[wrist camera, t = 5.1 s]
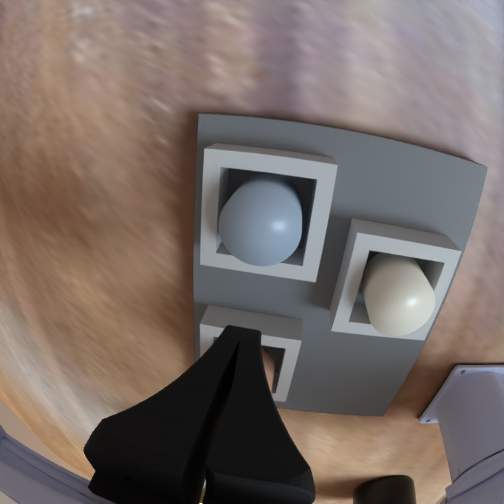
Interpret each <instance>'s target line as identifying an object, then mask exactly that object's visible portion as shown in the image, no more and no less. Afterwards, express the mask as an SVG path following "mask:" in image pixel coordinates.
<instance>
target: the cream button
mask: <svg viewBox="0 0 504 504" xmlns="http://www.w3.org/2000/svg"><path fill="white" fill-rule="evenodd" d="M361 288H362V292H363V296H364V300H365V304H366V308H367V312H368V316H369V320H370V323H371V324H372V326H373V327H374V328H375V329H376V330H377V331H378V332H380V333H382V334H384V335H388V336H402V335H406V334H409V333H412V332H414V331H416V330H417V329H419V328H420V327H421V326H423V325H424V324H425V323H426V322H427V321H428V319H429V318H430V316H431V315H432V313H433V310H434V307H435V294H434V291H433V289H432V287H431V285H430V284H429V282H428V280H427V278H426V277H425V275H424V273H423V272H422V270H421V268H420V267H419V265H418V263H417V262H416V260H415V259H414V258H413V257H408V256H402V255H396V254H390V253H384V252H381V253H379V254H377V255H375V256H374V257H373V258H372V259H370V260H369V261H368V263H367V264H366V265H365V268H364V272H363V275H362V279H361Z"/></svg>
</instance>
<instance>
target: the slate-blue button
mask: <svg viewBox="0 0 504 504" xmlns="http://www.w3.org/2000/svg"><path fill="white" fill-rule="evenodd" d="M219 233H220V237H221V240H222V242H223V244H224V246H225V247H226V248H227V250H228V251H229V252H230V253H231V254H232V255H233V256H234V257H236V258H237V259H239V260H240V261H242V262H244V263H247V264H250V265H254V266H271V265H275V264H278V263H280V262H282V261H284V260H285V259H287V258H288V257H289V256H290V255H291V254H292V253H293V252H294V251H295V250H296V248H297V246H298V244H299V242H300V239H301V233H302V202H301V198H300V195H299V193H298V191H297V190H296V188H295V187H294V186H293V185H292V184H291V183H290V182H289V181H288V180H286V179H285V178H283V177H281V176H278V175H275V174H268V173H264V174H257V175H254V176H252V177H250V178H248V179H246V180H245V181H244V182H243V183H242V184H241V185H240V186H239V187H238V188H237V190H236V191H235V192H234V194H233V195H232V196H231V198H230V199H229V200H228V202H227V203H226V204H225V206H224V208H223V209H222V212H221V214H220V218H219Z"/></svg>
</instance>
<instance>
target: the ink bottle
mask: <svg viewBox="0 0 504 504" xmlns="http://www.w3.org/2000/svg"><path fill="white" fill-rule="evenodd" d="M353 504H416V495H415V487H414V481H413V480H412V479H411V478H409V477H404V476H398V477H389V478H383V479H379V480H375V481H371V482H368V483H365V484H363V485H361V486H359V487H358V488H357V489H356V490H355V491H354V493H353Z"/></svg>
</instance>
